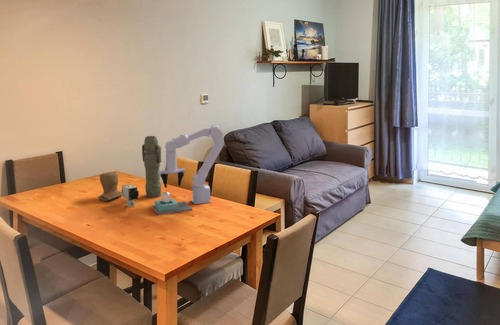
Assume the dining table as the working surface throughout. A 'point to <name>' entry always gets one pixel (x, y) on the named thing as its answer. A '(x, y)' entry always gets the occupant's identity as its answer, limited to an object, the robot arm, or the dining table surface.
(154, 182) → the stone statue
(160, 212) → the block
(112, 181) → the brown upright piece
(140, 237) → the dining table surface
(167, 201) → the pin
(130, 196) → the pneumatic valve
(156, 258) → the dining table surface
